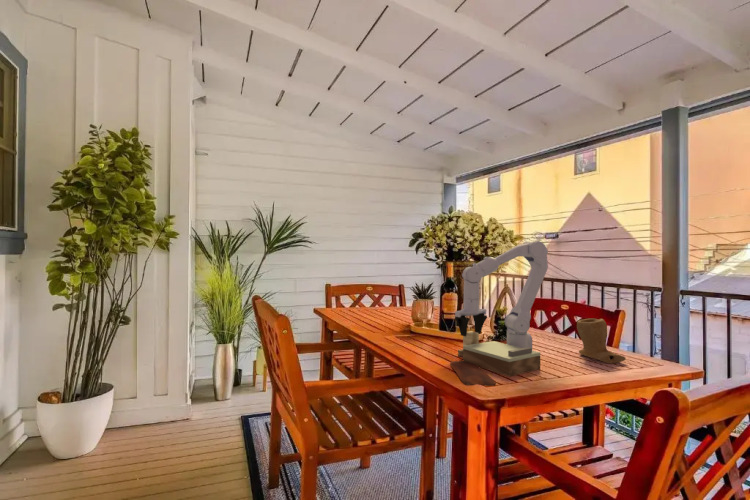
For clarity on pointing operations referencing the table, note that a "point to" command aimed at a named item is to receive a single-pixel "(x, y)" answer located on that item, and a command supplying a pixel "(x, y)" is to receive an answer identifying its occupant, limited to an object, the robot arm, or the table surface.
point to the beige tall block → (471, 338)
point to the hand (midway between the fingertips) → (470, 334)
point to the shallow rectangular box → (501, 363)
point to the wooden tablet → (471, 374)
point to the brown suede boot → (596, 341)
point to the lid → (502, 351)
